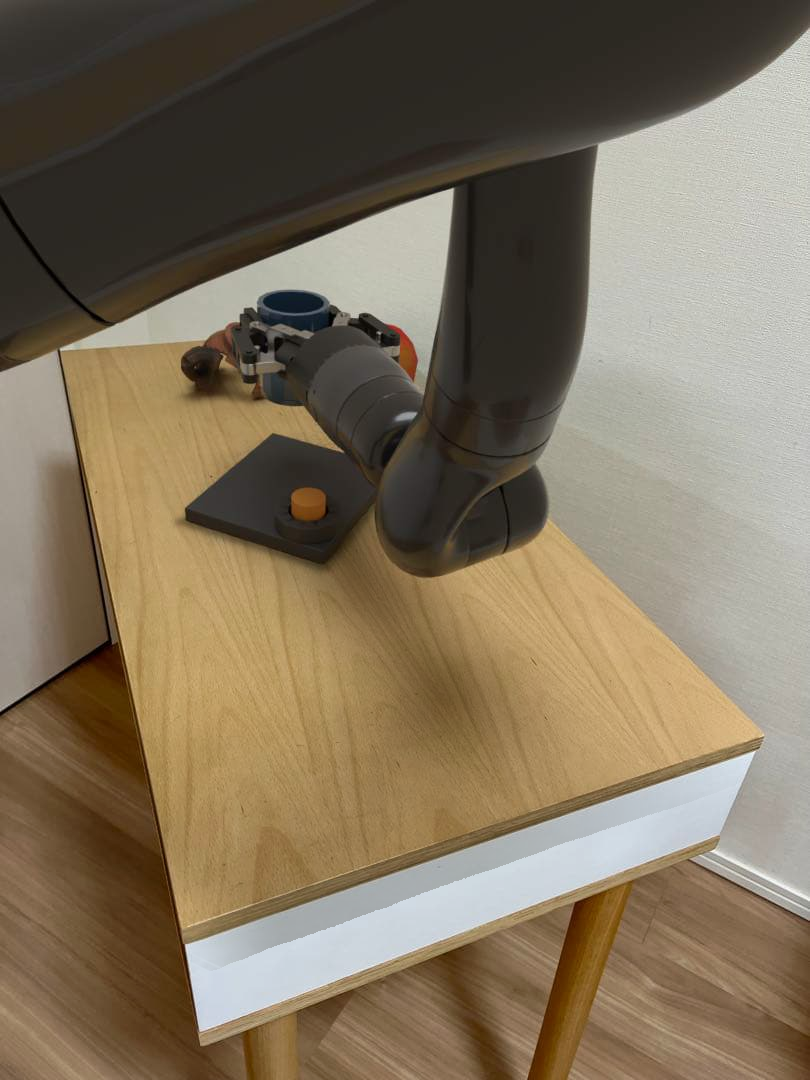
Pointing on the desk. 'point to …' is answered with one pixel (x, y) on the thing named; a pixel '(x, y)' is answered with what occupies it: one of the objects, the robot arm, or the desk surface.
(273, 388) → the cup
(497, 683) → the desk surface
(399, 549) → the robot arm
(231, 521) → the scale
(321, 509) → the button
